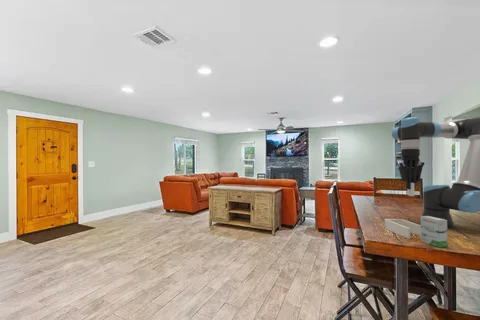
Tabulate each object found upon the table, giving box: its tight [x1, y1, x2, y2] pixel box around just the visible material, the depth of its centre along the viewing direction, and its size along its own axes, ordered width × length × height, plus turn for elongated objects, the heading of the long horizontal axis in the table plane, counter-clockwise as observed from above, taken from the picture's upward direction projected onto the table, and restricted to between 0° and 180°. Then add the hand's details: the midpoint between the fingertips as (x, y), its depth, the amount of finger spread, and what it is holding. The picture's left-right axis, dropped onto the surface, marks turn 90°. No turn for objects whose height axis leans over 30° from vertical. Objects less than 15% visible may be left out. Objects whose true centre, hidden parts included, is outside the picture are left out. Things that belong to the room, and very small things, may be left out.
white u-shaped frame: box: [383, 218, 421, 240], centre depth 120 cm, size 10×18×5 cm, turn 3°
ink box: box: [420, 215, 449, 248], centre depth 104 cm, size 9×5×12 cm, turn 10°
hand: (410, 195), depth 116 cm, fingers closed
